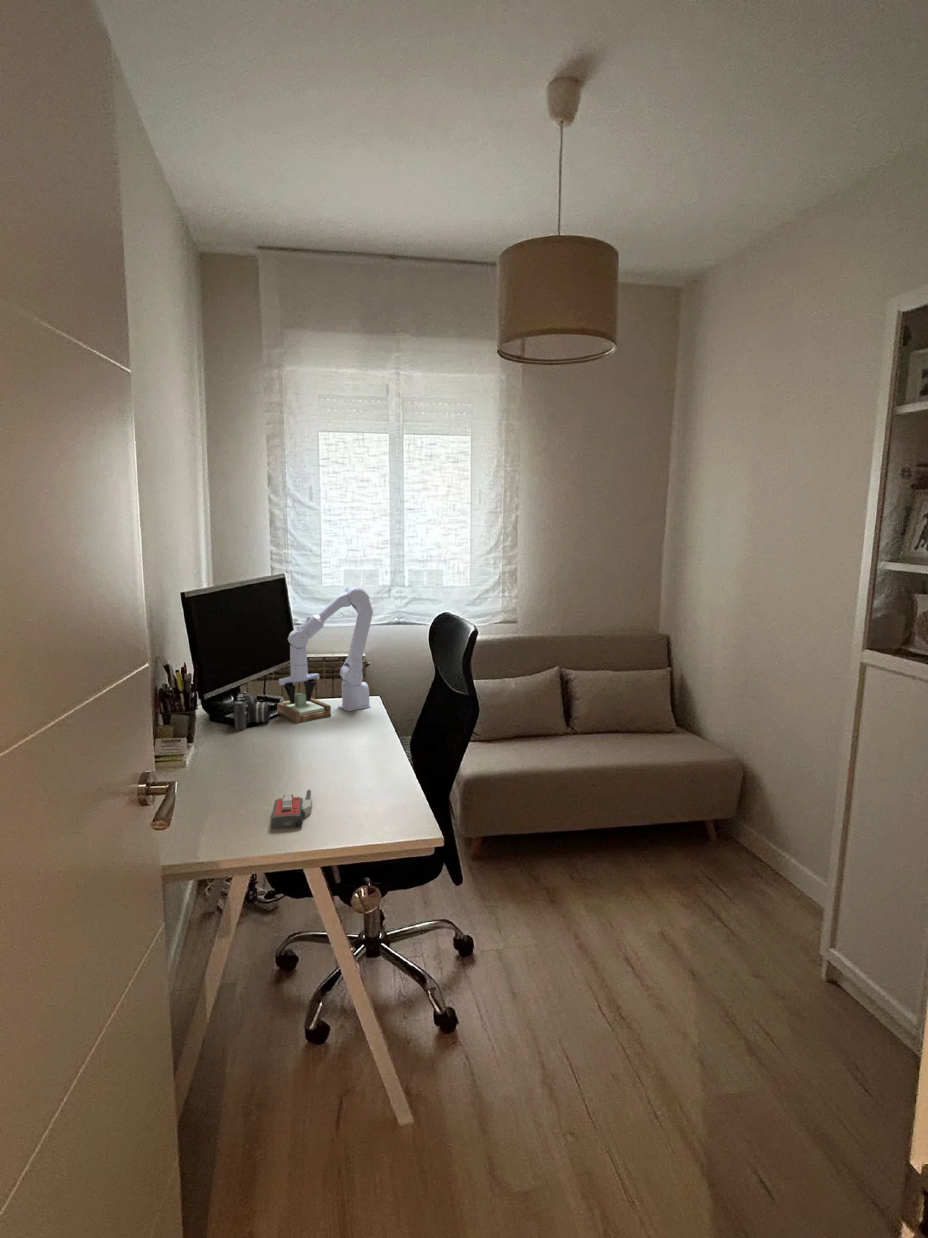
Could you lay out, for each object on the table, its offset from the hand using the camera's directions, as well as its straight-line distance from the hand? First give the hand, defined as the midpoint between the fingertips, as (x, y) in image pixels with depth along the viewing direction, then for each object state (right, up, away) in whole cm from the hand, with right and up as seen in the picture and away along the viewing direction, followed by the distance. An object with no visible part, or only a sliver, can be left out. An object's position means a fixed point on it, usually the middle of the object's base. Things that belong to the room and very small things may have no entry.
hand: (300, 702), depth 254 cm
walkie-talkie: (+18, -17, -85) cm, 88 cm away
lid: (+2, -2, -2) cm, 3 cm away
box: (+2, -4, -1) cm, 5 cm away
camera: (-14, -6, -11) cm, 19 cm away
